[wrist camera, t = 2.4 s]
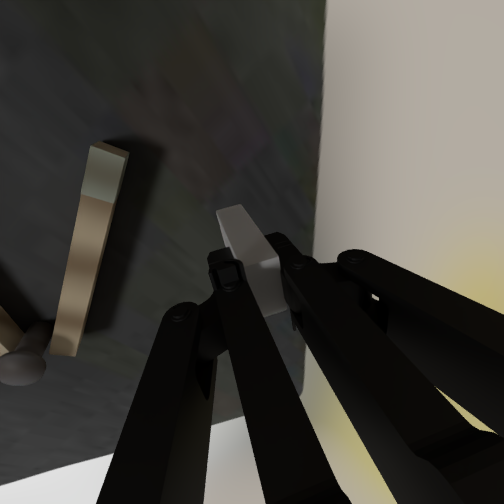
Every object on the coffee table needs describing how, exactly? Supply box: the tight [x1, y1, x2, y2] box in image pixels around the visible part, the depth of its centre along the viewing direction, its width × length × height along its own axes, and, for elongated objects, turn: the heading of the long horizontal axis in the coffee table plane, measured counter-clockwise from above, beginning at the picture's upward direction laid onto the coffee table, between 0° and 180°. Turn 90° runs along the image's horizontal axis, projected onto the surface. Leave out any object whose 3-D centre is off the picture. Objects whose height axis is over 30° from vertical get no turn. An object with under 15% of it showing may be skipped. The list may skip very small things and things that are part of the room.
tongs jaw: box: [49, 141, 130, 356], centre depth 27 cm, size 22×2×3 cm, turn 156°
